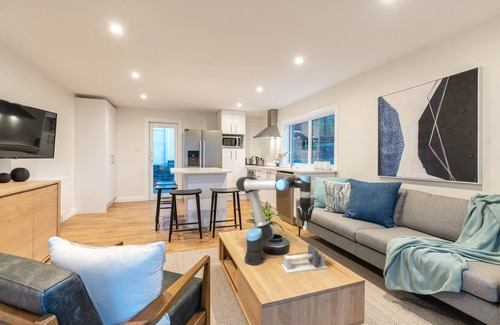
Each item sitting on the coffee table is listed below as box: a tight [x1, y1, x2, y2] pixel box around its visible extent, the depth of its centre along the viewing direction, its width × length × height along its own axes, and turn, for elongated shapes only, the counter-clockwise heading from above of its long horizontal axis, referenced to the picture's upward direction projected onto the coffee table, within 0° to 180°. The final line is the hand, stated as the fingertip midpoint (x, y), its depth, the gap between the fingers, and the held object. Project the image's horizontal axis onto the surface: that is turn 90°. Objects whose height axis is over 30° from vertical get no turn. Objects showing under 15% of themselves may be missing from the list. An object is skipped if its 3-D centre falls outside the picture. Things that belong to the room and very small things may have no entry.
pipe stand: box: [280, 251, 329, 275], centre depth 165 cm, size 30×12×9 cm, turn 102°
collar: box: [307, 244, 319, 267], centre depth 166 cm, size 2×11×11 cm, turn 12°
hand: (304, 230), depth 165 cm, fingers closed
